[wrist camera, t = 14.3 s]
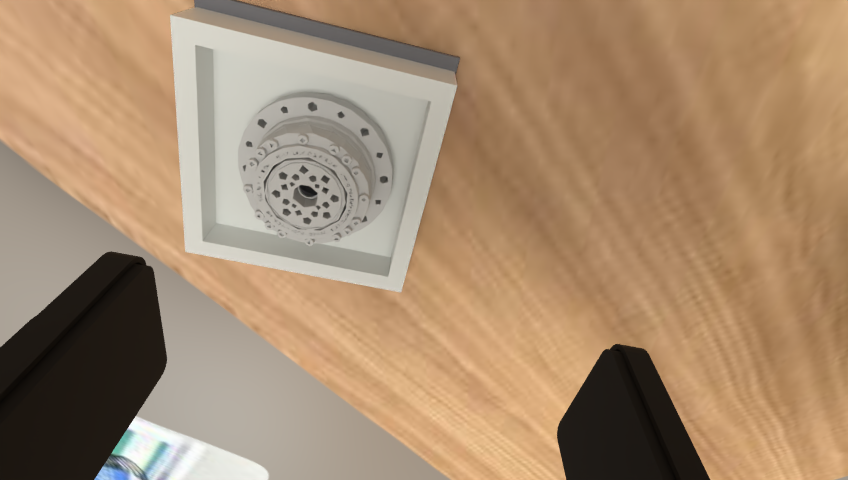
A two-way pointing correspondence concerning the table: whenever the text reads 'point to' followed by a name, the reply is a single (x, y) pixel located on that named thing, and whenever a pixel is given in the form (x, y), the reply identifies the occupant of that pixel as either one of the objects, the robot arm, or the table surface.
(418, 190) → the tray
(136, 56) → the table surface
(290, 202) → the mechanical component
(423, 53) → the grey flat plate
